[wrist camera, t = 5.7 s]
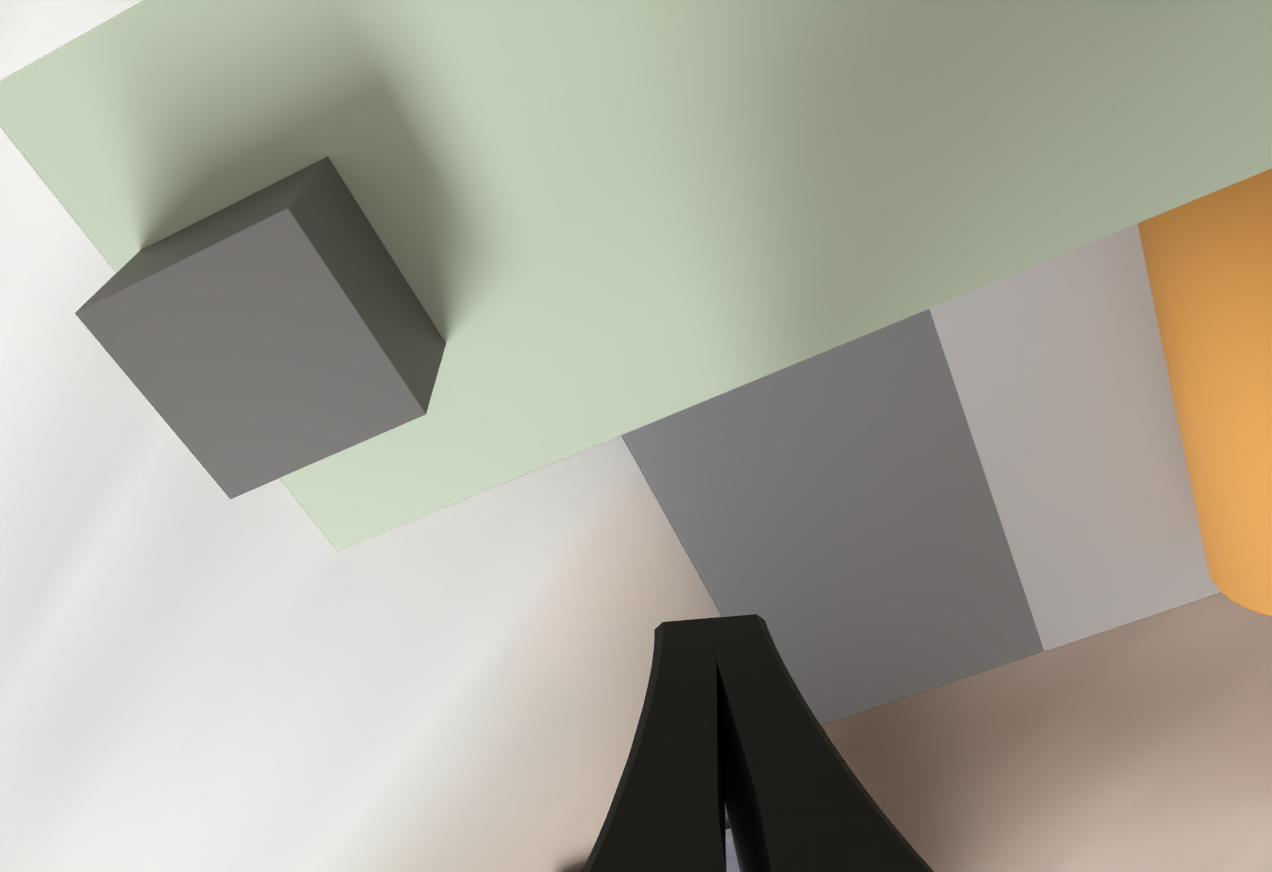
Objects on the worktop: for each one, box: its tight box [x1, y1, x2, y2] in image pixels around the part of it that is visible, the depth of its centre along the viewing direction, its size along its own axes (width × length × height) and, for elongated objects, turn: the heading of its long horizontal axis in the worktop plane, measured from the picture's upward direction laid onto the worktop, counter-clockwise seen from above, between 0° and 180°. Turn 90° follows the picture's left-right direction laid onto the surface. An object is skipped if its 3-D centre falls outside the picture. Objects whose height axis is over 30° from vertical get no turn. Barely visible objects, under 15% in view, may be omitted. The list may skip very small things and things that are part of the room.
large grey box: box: [621, 223, 1221, 725], centre depth 19 cm, size 18×15×4 cm
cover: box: [0, 0, 1272, 552], centre depth 12 cm, size 16×8×3 cm, turn 115°
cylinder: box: [1138, 168, 1272, 616], centre depth 19 cm, size 10×3×3 cm
